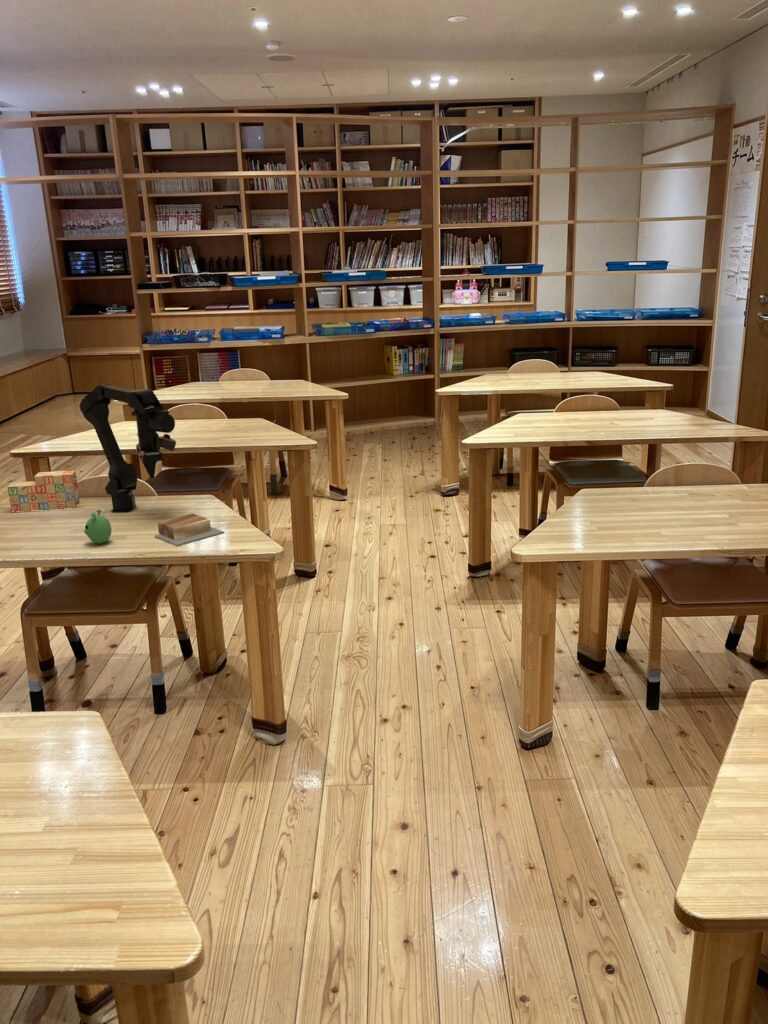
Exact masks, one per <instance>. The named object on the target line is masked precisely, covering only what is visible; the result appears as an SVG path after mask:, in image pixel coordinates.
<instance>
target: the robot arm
mask: <svg viewBox="0 0 768 1024" xmlns="http://www.w3.org/2000/svg"><path fill="white" fill-rule="evenodd" d="M113 400H114V401H117V402H121V403H125V404H127V405H128V407H130V408H131V409H133V411H132V412H131V413H130V416H133V417H135V421H136V429H137V433H136V436H137V438H138V443H137V444H136V445H135V449H136V450H135V451H136V452H137V454H139V453H141V454H140V455H138V457H139V459H140V461H141V463H142V465H143V467H144V468H145V471H146V472H147V474H148V476H149V478H150V479H155V475H156V474H155V473H156V466H157V462H161V461H164V460H165V458H164V453H162V451H161V449H164V450H169V451H170V452H174V451H175V448H176V445H177V441H176V440H175V439H173V438H171V435H170V433H171V432H173V431H174V429H175V426H176V421H175V418H174V417H173V416H172V415H171V414H170V410H165V409H164V406H163V405H162V403H161V401H160V400H159V398H158V397H157V395H156V394H155V393H154V390H152V389H149V388H147V389H130V388H126V387H125V388H124V387H122V386H118V385H113V384H111V383H102V384H98V385H96V386H95V387H94V388H93V390H92V391H90V392H89V393H88V394H86V395H85V396H84V397H83V398H82V399H81V401H80V403H79V409H80V412H81V414H82V415H83V417H84V419H85V420H86V421H87V422H89V423H90V424H91V425H92V426H93V428H94V430H95V432H96V433H95V434H96V436H97V437H98V440H99V443H100V446H101V447H102V450H103V453H104V455H105V457H106V461H107V462H108V465H109V469H108V473H107V475H108V478H109V481H108V483H107V484H106V486H105V487H104V489H105V492H106V494H107V495H110V498H111V505H112V509H111V510H110V511H111V513H124V512H126V513H129V511H130V512H131V511H133V510H134V509H135V508H137V505H136V497H135V494H133V492H134V491H135V490H137V485H138V473H137V471H136V469H135V466H134V464H133V463H132V462H131V463H130V462H129V463H128V462H127V461H126V460H125V459H124V456H123V454H122V452H121V449H120V447H119V444H118V442H117V438H116V437H115V434H114V431H113V429H112V427H111V424H110V422H109V416H110V408H109V405H110V404H111V402H112V401H113ZM158 432H159V433H164V434H163V435H161V436H159V435H160V434H159V433H158ZM132 509H133V510H132Z"/></svg>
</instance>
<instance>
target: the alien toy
mask: <svg viewBox="0 0 768 1024" xmlns="http://www.w3.org/2000/svg"><path fill="white" fill-rule="evenodd" d="M102 512H103V510H102V509H97V510H96V512H92V513H91V514H90V516H91V517H90V518H88V520H87V522H86V523H85V526H84V530H83V532H84V534H85V535H86V536H87V538H88V539H89V540H90V541H91V542H93V544H98V545H99V544H100V545H101V544H104V543H106V542H108V541H109V539H110V538H111V536H112V524H111V522H110V521H109V519H108V518H107V517H106V516H104V515H101V513H102ZM97 513H98V514H97Z"/></svg>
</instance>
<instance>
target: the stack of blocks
mask: <svg viewBox="0 0 768 1024" xmlns="http://www.w3.org/2000/svg"><path fill="white" fill-rule="evenodd" d="M76 473H77V472H76V470H56V471H43V472H41V471H40V472H37V473H36V474H35V475H34V476H33V477H34V478H33V479H34V481H20V482H19V481H17V482H11V483H10V484H9V485H8V486H7V493H8V494H7V495H8V497H9V498H8V499H9V504H10V509H11V512H12V511H30V512H31V510H47V511H51V510H50V509H62V510H65V509H64V508H76V507H77V505H78V504H79V503H80V504H81V502H80V501H81V500H80V494H79V488H78V486H79V485H78V478H77V474H76ZM80 504H79V505H80ZM77 508H78V507H77ZM77 508H76V509H77Z"/></svg>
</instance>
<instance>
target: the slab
mask: <svg viewBox="0 0 768 1024" xmlns="http://www.w3.org/2000/svg"><path fill="white" fill-rule="evenodd" d="M211 527H212V526H211V519H209V518H207V517H205V516H201V515H198V514H195V513H189V514H184V515H181V516H176V517H173V518H169V519H165V520H162V521H158V522H157V529H158V535H159V534H162V535H164V536H167V537H169V538H172V539H174V540H178V539H182V538H186V537H189V536H193V535H197V534H200V533H204V532H207V531H211Z"/></svg>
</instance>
